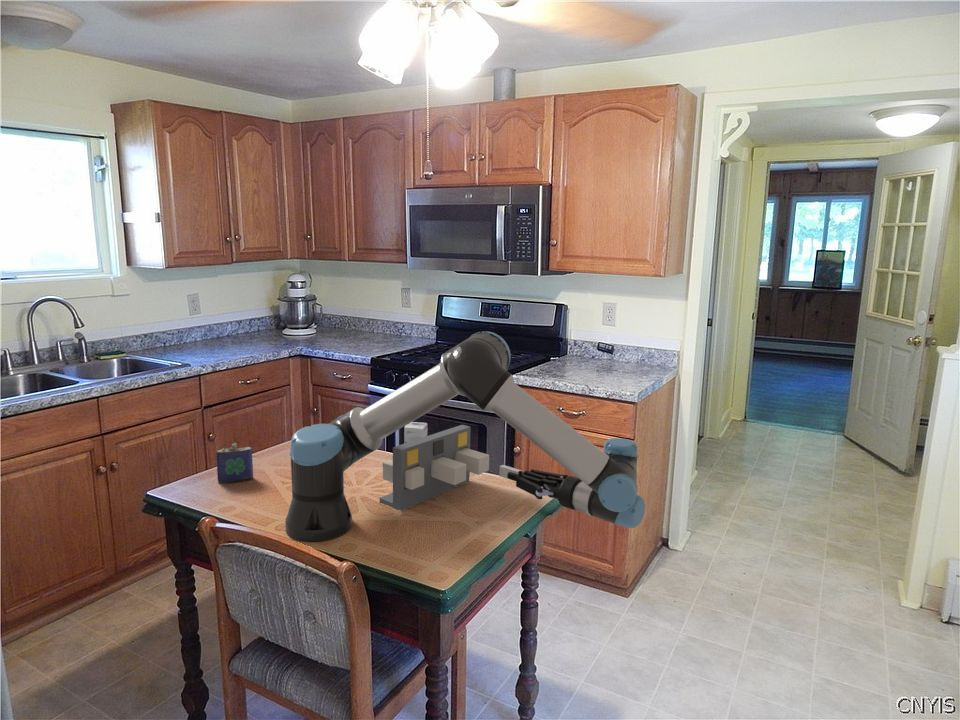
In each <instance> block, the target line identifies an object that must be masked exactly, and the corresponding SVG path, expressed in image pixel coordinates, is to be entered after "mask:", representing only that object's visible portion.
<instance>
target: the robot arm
mask: <svg viewBox="0 0 960 720" xmlns="http://www.w3.org/2000/svg"><path fill="white" fill-rule="evenodd" d="M511 355H512V354H511V349H510V347H509V345H508V343H507V342H506V341H505V339H504V338H503V337H502V336H500V335H498V334H497V333H495V332H492V331H478V332H475V333H473V334H471V335H470V336H469V338H466V339H465V340H463V341H462V342H460V343H458V344H456V345H455V346H454V347H452V348H450V349H449V350H447V351H445V352H444V353H442V354H441V358H440V362H439V363H438V364H437V365H434V366H433V367H432V368H430V369H428V370H427V371H424V373H422V374H420V375H419V376H417V377H415V378H414V379H411V380H410V381H408V382H407V383H406V384H404V385H402V386H400V387H399V388H397V389H395V390H393V391H392V392H390V393H389V394H387V395H385V396H383V397H382V398H381V399H379V400H377V401H376V402H373V404H370V405H369V406H367V407H366V408H362V407H358V406H357V407H354V408H352V409H350V410H348V411H347V412H346V413H344V414H342V415H339V416H338V417H336V418H334V419H333V420H332V421H331V422H330V423H318V424H317V423H316V424H315V423H314V424H311V426H308V425H307V426H304V427H302V428H300V429H299V430H297V431H296V432H295V433H294V434H293V435H292V437H291V439H290V449H289V456H290V474H291V491H292V492H291V493H292V495H291V496H292V497H291V501H290V504H289V507H288V511H287V515H286V517H285V521H284V522H285V525H284V526H285V533H286V534H287V535H288V536H289V537H290V538H292V539H295V540H299V541H303V542H322V541H328V540H332V539H335V538H339V537H340V536H343V535H344V534H346V533H348V532H349V531H350V529H351V528H352V526H353V515H352V511H351V510H350V507H349V503H348V501H347V498H346V496H345V491H344V490H345V487H344V486H345V485H344V482H345V481H344V477H345V476H344V472H346V471H347V470H348V469H349V468H350V467H351V466H352V465H354V464H355V463H357V462H358V461H359V460H361V459H362V458H364V457H367V456H368V455H370V454H371V453H373V452H375V451H376V450H378V449H380V447H381V446H382V443H383V439H385V438H386V437H388V436H390V435H392V434H394V433H395V432H397V431H399V430H400V429H402V428H403V427H405V426H406V425H407V424H409V423H411V422H415V421H416V420H417V419H419V418H421V417H422V416H425V415H426V414H427V413H429V412H431V411H433V410H434V409H436V408H438V407H439V406H441V405H443V404H445V403H446V402H448V401H450V400H452V399H453V398H455V397H457V396H458V395H460V396H462V397H466V398H467V399H469V400H470V401H471V403H472V404H475V405H476V406H477V407H479V408H480V409H481V410H482V411H484V412H490V411H491V412H492V413H494V414H495V415H496V416H498V417H499V418H501V420H503V421H504V422H505V423H507V424H508V425H510V426H511V427H512V428H513V429H515V430H516V431H518V432H519V433H520V434H521V435H522V436H524V437H525V438H527V440H529V441H530V442H531V443H533V444H534V445H535V446H537V447H538V448H539V449H540V450H542V451H543V452H544V453H545V454H547V455H548V456H550V457H551V458H552V459H553V460H554V461H556V462H557V463H558V464H559V465H561V466H562V467H564V468H565V470H567V471H569V472H570V473H571V474H572V475H574V476H572V475H568V474H559V473H554V472H549V471H543V470H538V469H530V470H522V469H518V468H515V467H512V466H509V465H505V464H502V465H499V473H498V475H499V477H502V478H505V479H507V480H510V481H512V482H513V481H514V482H515V487H516V488H519V489H521V490H522V491H524V492H526V493H528V494H530V495H532V496H534V497H535V498H536V499H538V500H543V497H544V496H545V497H549V498H552V499H557V501H558V502H559V504H560V506H562V507H564V508H567V509H571V510H573V511H577V512H580V513H582V514H586V515H587V516H589V517H594V518H596V519H600V520H603V521H607V522H609V523H611V524H615V525H616V526H620V527H624V528H629V529H635V528H637V527H638V526H640V524H641V522H642V521H643V519H644V515H645V511H646V503H645V499H644V498H643V497H642V496H640V495H638V484H637V480H638V479H637V478H638V477H637V476H638V474H637V467H638V458H639V456H638V448H639V447H638V444H637V443H636V442H635V441H633V440H631V439H627V438H620V437H619V438H618V437H615V438H613V437H612V438H609V439H607V440H605V442H604V445H603V450H602V449H600V448H599V447H598V446H597V445H595V444H593V443H592V442H591V441H590V440H589V439H588V438H586V437H585V436H583V435H582V434H581V433H579V431H577V430H575V428H573V427H572V426H571V425H569V424H568V423H567V422H565V421H564V420H563V419H562V418H560V417H559V416H558V415H556V414H555V413H554V412H553V411H551V410H550V409H549V408H547V407H546V406H545V405H544V404H543V403H541V402H540V401H538V399H536V398H535V397H533V396H532V395H531V394H529V393H528V392H527V391H526V390H524V389H523V388H522V387H521V386H519V385H518V384H516V383H515V381H514V374H512V373H511V372H509V371H508V370H509V367H510V363H511Z"/></svg>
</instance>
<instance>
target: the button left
mask: <svg viewBox="0 0 960 720" xmlns="http://www.w3.org/2000/svg"><path fill="white" fill-rule="evenodd" d="M382 479H383V480H384V481H387V482H389V483H391V484H393V458H392V459H390V460H386V461H384V462H382ZM423 485H424V468H422V467H419V466H413V467H411V468H408V469H405V470H404V487H405V488H408V489H410V490H413V489H415V488H418V487H420V486H423Z"/></svg>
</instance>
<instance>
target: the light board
mask: <svg viewBox="0 0 960 720" xmlns="http://www.w3.org/2000/svg"><path fill="white" fill-rule="evenodd" d="M471 431H472V429H471V426H468V425H466V424H460V425H458V426H457V425H456V426H454V427H451V428H448V429H444V430H441V431H439V432H436V433H432V434H429V435H427V436H426V437H423V438H420V439H417V440H414V441H411V442H408V443H405V444H404V443H403V444H402V443H401V444H398V445H396V446H393V447H392V459H393V483H392V492H391V493H388V494H385V495H383V496H380V497H378V498H379V503H381V504H383V505H385V504H386V505H385V506H387V505H388V506H387V507H390V508H393V509H395V510H397V511H400V512H403V511H406V510H408V509H409V508H412V507H414V506H416V504H417V505H419V504H421V503H424V502H426V501H428V500H430V499H433V498H435V497H437V496H439V495H442V494H444V493H446V492H448V491H451V490H453V489H456V488H458V487H460V486H463V485H464V484H467V483H470V478H471V477H470V475H471V474H470V473H471V472H468V471H466V481H463V482H461V483H459V484H456V485H453V484H450V483H447V482H444V481H442V480H439V479H436V478H433V477H431V460H432V459H435V458H438V457H440V456H442V457H446V458H449V459H452V460H455V451H457V450H459V449H462V448H468V449H471ZM413 466H419V467H422V468H424V485H423V486H420V487H418V488H415V489H413V490H410V489H408V488H405V487H404V470H405V469H408V468H411V467H413ZM432 497H433V498H432ZM425 500H426V501H425ZM418 503H419V504H418Z"/></svg>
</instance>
